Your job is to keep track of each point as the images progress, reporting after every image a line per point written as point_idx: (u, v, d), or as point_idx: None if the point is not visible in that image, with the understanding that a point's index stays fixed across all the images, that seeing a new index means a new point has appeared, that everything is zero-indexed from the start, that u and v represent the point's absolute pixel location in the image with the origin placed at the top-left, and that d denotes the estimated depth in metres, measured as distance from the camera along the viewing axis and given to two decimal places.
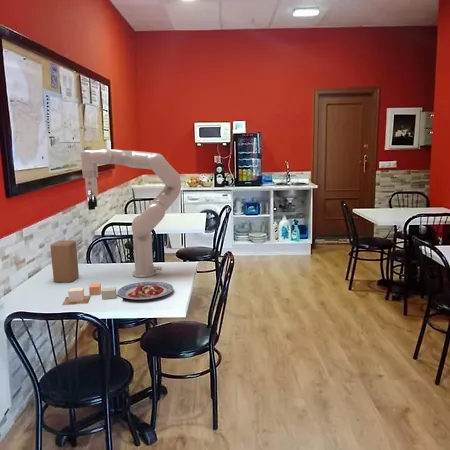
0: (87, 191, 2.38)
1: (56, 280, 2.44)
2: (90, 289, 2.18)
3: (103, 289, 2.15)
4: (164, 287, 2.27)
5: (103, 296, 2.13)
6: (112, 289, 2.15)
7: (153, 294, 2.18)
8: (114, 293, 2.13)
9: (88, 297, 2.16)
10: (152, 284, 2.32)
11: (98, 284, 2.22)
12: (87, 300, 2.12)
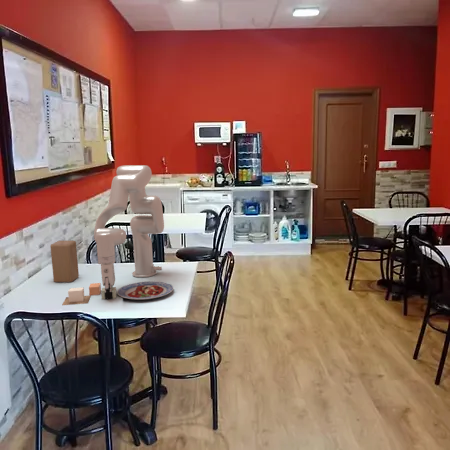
0: (103, 282, 2.09)
1: (56, 280, 2.44)
2: (90, 289, 2.18)
3: (103, 289, 2.15)
4: (164, 287, 2.27)
5: (103, 296, 2.13)
6: (112, 289, 2.14)
7: (153, 294, 2.18)
8: (114, 293, 2.13)
9: (88, 297, 2.16)
10: (152, 284, 2.32)
11: (98, 284, 2.22)
12: (87, 300, 2.12)
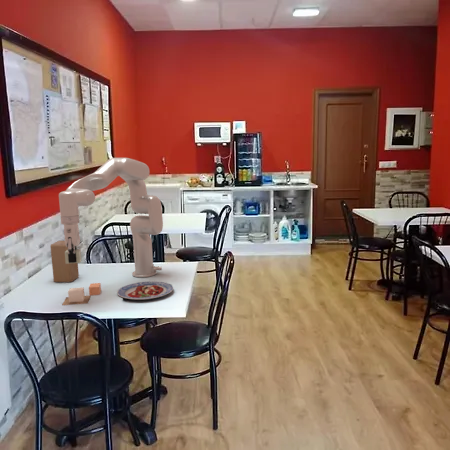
0: (66, 243, 2.03)
1: (56, 280, 2.44)
2: (90, 289, 2.18)
3: (67, 251, 2.08)
4: (164, 287, 2.27)
5: (66, 257, 2.06)
6: (76, 250, 2.08)
7: (153, 294, 2.18)
8: (78, 254, 2.07)
9: (88, 297, 2.16)
10: (152, 284, 2.32)
11: (98, 284, 2.22)
12: (87, 300, 2.12)
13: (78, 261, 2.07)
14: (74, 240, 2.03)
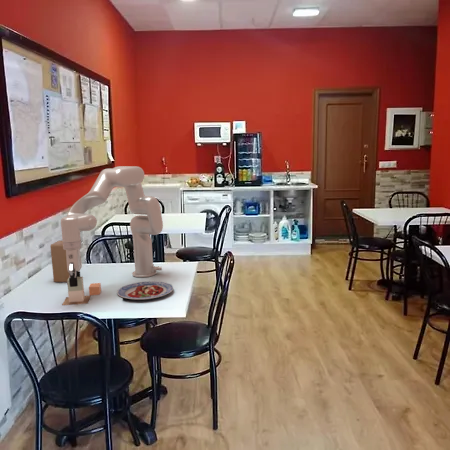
0: (68, 266, 2.04)
1: (56, 280, 2.44)
2: (90, 289, 2.18)
3: None
4: (164, 287, 2.27)
5: (69, 285, 2.09)
6: (79, 278, 2.10)
7: (153, 294, 2.18)
8: (80, 282, 2.09)
9: (88, 297, 2.16)
10: (152, 284, 2.32)
11: (98, 284, 2.22)
12: (87, 300, 2.12)
13: (80, 289, 2.10)
14: (76, 265, 2.05)
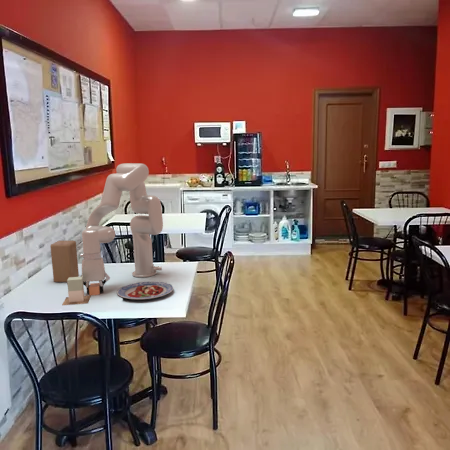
0: None
1: (56, 280, 2.44)
2: (90, 289, 2.18)
3: (69, 278, 2.10)
4: (164, 287, 2.28)
5: (69, 285, 2.09)
6: (79, 278, 2.10)
7: (153, 294, 2.18)
8: (80, 282, 2.09)
9: (88, 297, 2.16)
10: (152, 284, 2.32)
11: (98, 284, 2.22)
12: (87, 300, 2.12)
13: (80, 289, 2.10)
14: (81, 275, 2.18)
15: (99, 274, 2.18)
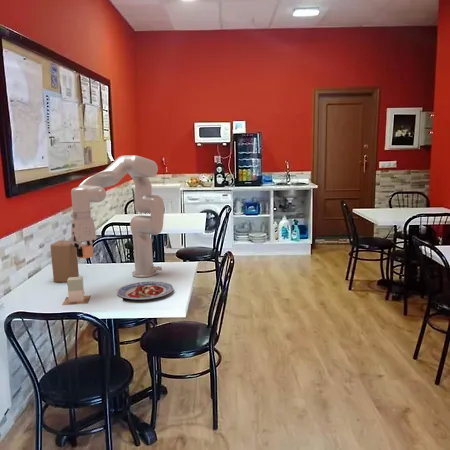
0: (72, 237, 2.10)
1: (56, 280, 2.44)
2: (85, 249, 2.11)
3: (69, 278, 2.10)
4: (164, 287, 2.28)
5: (69, 285, 2.09)
6: (79, 278, 2.10)
7: (153, 294, 2.18)
8: (80, 282, 2.09)
9: (88, 297, 2.16)
10: (152, 284, 2.32)
11: (86, 245, 2.15)
12: (87, 300, 2.12)
13: (80, 289, 2.10)
14: (76, 235, 2.08)
15: (92, 233, 2.14)
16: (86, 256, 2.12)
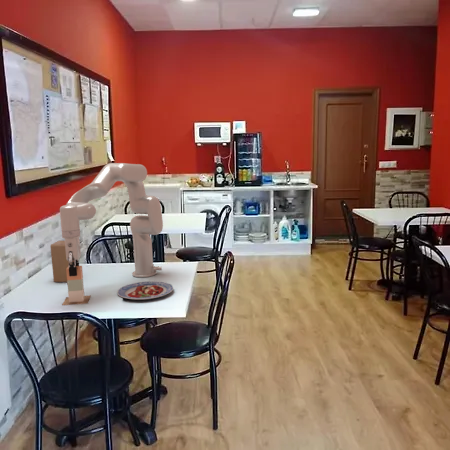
0: (67, 256, 2.04)
1: (56, 280, 2.44)
2: (80, 270, 2.09)
3: None
4: (164, 287, 2.28)
5: (69, 285, 2.09)
6: None
7: (153, 294, 2.18)
8: (80, 282, 2.09)
9: (88, 297, 2.16)
10: (152, 284, 2.32)
11: None
12: (87, 300, 2.12)
13: (80, 289, 2.10)
14: (75, 254, 2.04)
15: (80, 250, 2.12)
16: (81, 277, 2.10)
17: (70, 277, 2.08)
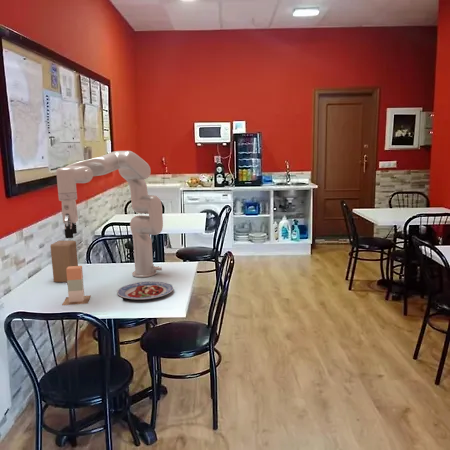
0: (64, 216, 2.01)
1: (56, 280, 2.44)
2: (80, 270, 2.09)
3: None
4: (164, 287, 2.28)
5: (69, 285, 2.09)
6: None
7: (153, 294, 2.18)
8: (80, 282, 2.09)
9: (88, 297, 2.16)
10: (152, 284, 2.32)
11: (74, 266, 2.11)
12: (87, 300, 2.12)
13: (80, 289, 2.10)
14: (72, 217, 2.01)
15: None
16: (81, 277, 2.10)
17: (70, 277, 2.08)
